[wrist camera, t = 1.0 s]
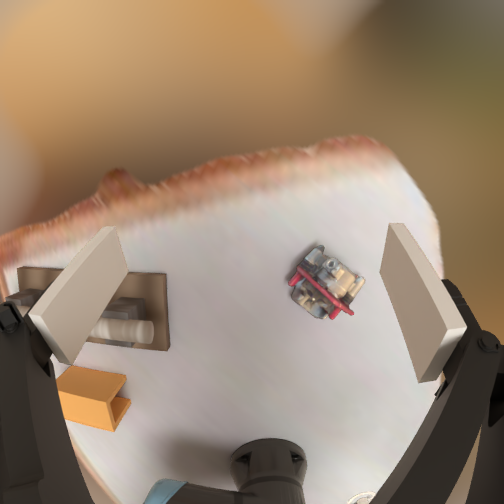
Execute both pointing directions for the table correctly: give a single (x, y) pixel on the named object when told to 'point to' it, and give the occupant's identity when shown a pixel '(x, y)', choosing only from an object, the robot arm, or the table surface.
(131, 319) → the shaft stand
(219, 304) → the table surface
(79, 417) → the box
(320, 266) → the brake caliper
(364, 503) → the teacup and saucer
